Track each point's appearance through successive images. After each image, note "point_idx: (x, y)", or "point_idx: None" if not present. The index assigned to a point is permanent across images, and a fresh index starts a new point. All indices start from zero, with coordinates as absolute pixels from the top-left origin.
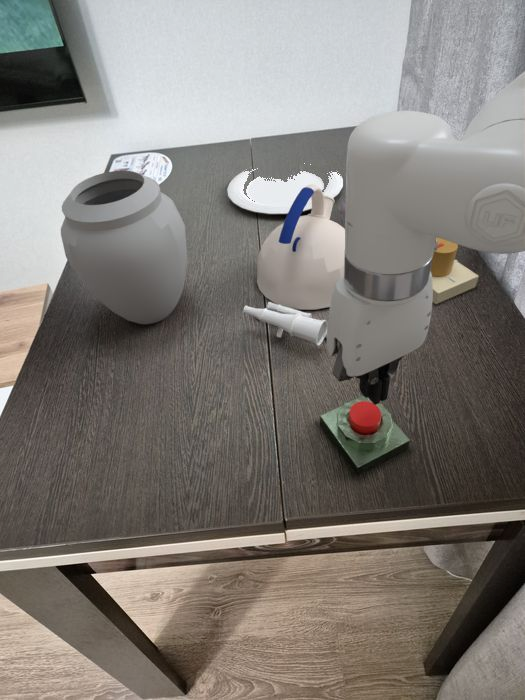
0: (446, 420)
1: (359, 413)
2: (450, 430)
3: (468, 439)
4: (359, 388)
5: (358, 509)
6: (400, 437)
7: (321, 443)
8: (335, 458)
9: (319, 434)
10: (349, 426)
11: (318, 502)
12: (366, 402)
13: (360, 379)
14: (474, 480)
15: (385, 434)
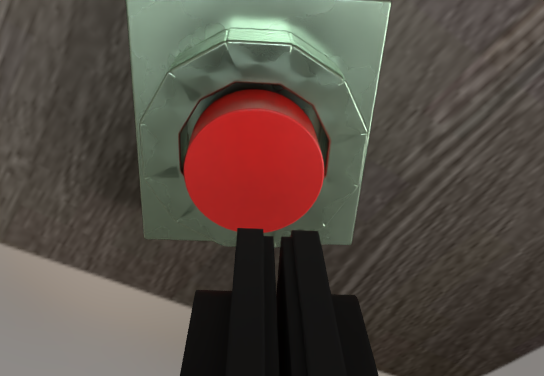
0: (517, 199)
1: (232, 163)
2: (492, 228)
3: (501, 268)
4: (195, 292)
5: (107, 277)
6: (333, 225)
7: (105, 56)
8: (124, 131)
9: (116, 17)
10: (209, 102)
11: (9, 218)
12: (298, 132)
13: (181, 372)
14: (406, 341)
15: (278, 240)
